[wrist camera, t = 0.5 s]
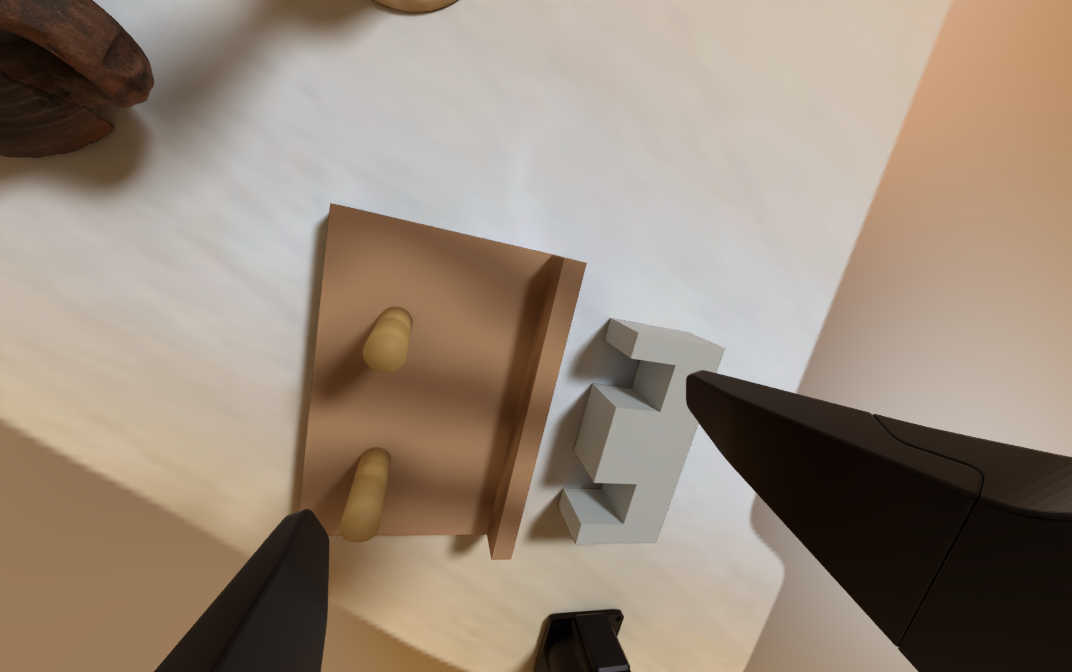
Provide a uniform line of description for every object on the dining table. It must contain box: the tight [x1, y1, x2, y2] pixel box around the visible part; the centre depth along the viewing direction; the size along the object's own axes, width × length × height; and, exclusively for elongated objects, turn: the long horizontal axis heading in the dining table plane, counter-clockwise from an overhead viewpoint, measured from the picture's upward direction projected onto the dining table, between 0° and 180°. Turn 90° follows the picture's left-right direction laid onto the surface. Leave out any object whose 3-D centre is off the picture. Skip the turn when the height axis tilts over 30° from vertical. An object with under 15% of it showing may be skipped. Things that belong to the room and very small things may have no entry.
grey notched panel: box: [558, 318, 725, 545], centre depth 25 cm, size 14×6×4 cm, turn 167°
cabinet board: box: [299, 203, 587, 560], centre depth 19 cm, size 18×12×6 cm, turn 167°
